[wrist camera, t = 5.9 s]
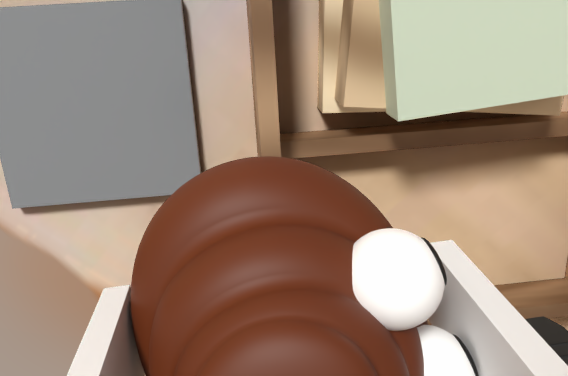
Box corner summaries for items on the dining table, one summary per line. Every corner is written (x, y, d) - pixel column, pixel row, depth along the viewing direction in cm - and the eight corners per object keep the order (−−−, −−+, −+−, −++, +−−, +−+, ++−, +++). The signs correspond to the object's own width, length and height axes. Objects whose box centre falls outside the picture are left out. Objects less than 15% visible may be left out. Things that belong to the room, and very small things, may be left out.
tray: (239, -88, 28) (242, -106, 23) (634, -105, 30) (712, -126, 25) (269, 321, 36) (276, 369, 31) (576, 289, 38) (626, 329, 33)
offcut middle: (346, -36, 28) (357, -40, 25) (561, -21, 29) (591, -23, 27) (334, 98, 30) (343, 106, 27) (534, 107, 31) (559, 115, 29)
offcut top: (378, -8, 26) (390, -9, 24) (555, -33, 26) (580, -36, 24) (386, 113, 28) (398, 121, 26) (550, 87, 28) (573, 93, 26)
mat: (-29, 9, 28) (-36, 9, 27) (181, -3, 29) (180, -3, 28) (17, 203, 32) (12, 208, 31) (202, 187, 32) (202, 192, 32)
